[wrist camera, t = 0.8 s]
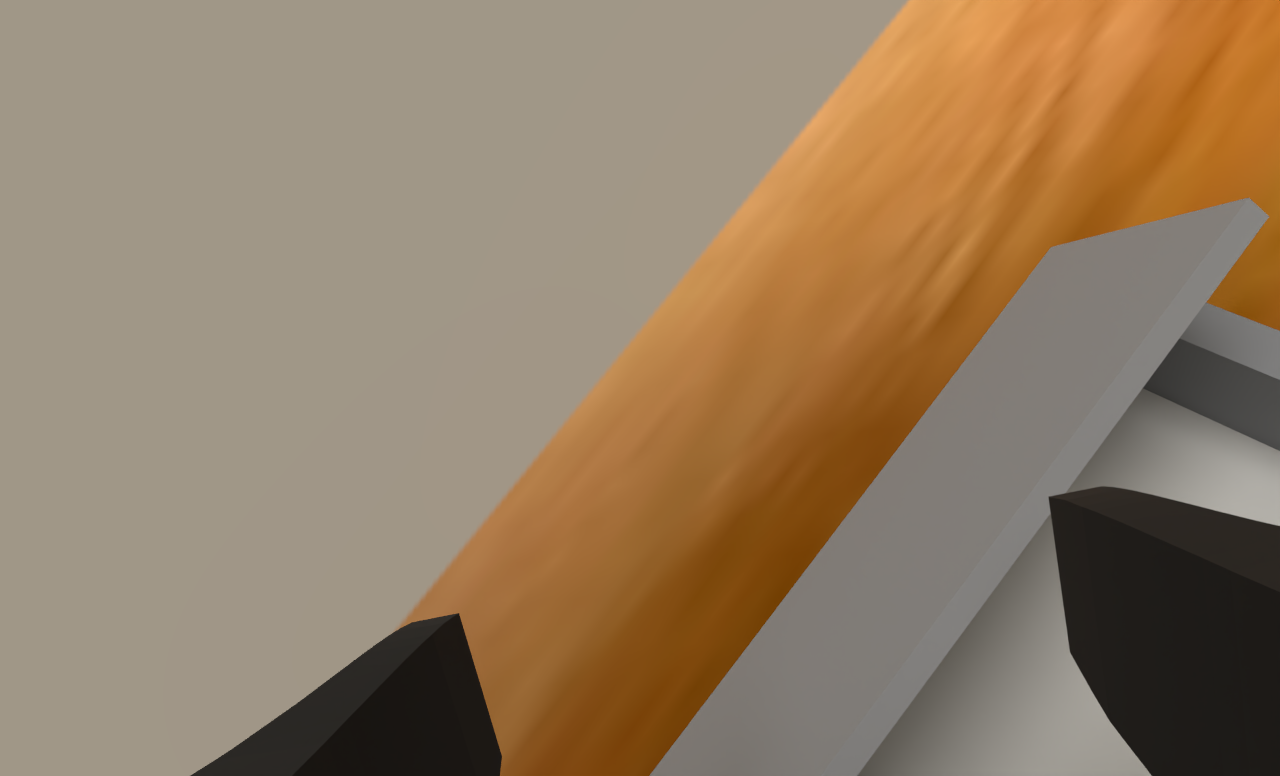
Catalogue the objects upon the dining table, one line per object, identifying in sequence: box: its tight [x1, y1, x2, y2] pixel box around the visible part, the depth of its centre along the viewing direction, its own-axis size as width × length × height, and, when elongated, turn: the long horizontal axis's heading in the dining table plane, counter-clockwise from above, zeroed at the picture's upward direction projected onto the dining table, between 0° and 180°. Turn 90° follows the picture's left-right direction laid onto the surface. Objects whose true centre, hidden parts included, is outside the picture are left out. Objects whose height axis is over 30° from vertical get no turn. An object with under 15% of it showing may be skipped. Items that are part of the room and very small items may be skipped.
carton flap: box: [650, 198, 1269, 776], centre depth 19 cm, size 6×15×1 cm
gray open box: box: [857, 303, 1280, 776], centre depth 19 cm, size 14×16×4 cm
